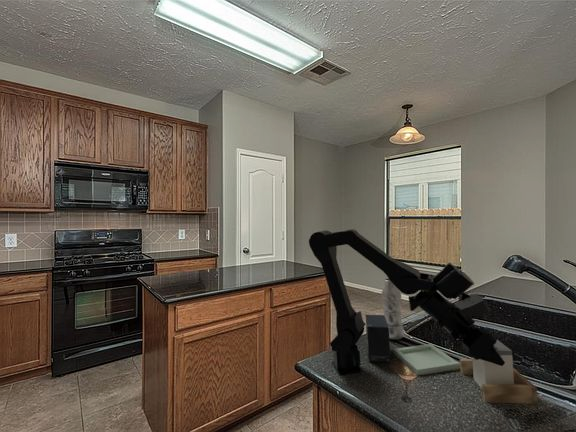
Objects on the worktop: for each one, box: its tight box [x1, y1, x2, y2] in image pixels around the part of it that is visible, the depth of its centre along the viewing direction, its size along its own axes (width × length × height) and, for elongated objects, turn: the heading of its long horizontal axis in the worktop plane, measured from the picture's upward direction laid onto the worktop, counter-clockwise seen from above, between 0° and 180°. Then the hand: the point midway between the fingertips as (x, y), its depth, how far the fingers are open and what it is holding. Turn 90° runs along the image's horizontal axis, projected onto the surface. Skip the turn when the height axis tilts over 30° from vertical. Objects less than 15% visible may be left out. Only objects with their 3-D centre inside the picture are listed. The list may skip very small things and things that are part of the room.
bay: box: [459, 358, 539, 405], centre depth 71 cm, size 10×12×4 cm
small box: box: [364, 314, 391, 363], centre depth 91 cm, size 11×6×10 cm, turn 168°
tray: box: [392, 343, 461, 376], centre depth 85 cm, size 12×12×2 cm
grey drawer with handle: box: [471, 339, 514, 389], centre depth 71 cm, size 6×6×11 cm
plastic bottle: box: [380, 277, 405, 341], centre depth 101 cm, size 6×7×20 cm
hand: (492, 354), depth 71 cm, fingers open, 9 cm apart
